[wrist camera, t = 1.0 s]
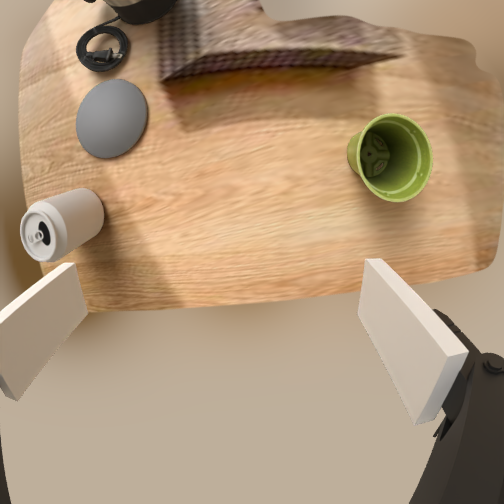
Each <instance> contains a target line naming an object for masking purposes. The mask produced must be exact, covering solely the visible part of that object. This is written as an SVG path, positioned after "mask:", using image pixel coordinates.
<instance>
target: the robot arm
mask: <svg viewBox="0 0 504 504" xmlns="http://www.w3.org/2000/svg"><path fill="white" fill-rule="evenodd" d="M87 314H88V311H87V307H86V304H85V300H84V297H83V293H82V289H81V285H80V281H79V277H78V273H77V269H76V265H75V263H63V264H61V265H60V266H58V267H57V268H56V269H54V270H53V271H51V272H50V273H49V274H47V275H46V276H45V277H43V278H42V279H41V280H40V281H38V282H37V283H35V284H34V285H33V286H31V288H29V289H28V290H26V291H25V292H24V293H22V294H21V295H20V296H19V297H17V298H16V299H15V300H14V301H12V302H11V303H10V304H9V305H8V306H6V307H5V308H4V309H3V310H2V311H0V388H1V389H2V391H3V392H4V394H5V396H7V397H9V398H11V399H13V400H15V401H18V400H19V399H20V398H21V396H22V395H23V393H24V392H25V391H26V389H27V388H28V387H29V385H30V384H31V383H32V381H33V380H34V379H35V377H36V376H37V375H38V374H39V372H40V371H41V370H42V368H43V367H44V366H45V365H46V363H47V362H48V361H49V360H50V358H51V357H52V356H53V354H54V353H55V352H56V351H57V350H58V348H59V347H60V346H61V345H62V343H63V342H64V341H65V340H66V339H67V338H68V336H69V335H70V334H71V333H72V332H73V330H74V329H75V328H76V327H77V326H78V324H79V323H80V322H81V321H82V320H83V319H84V318H85V316H86V315H87ZM357 315H358V317H359V319H360V321H361V323H362V324H363V326H364V328H365V330H366V332H367V333H368V335H369V337H370V339H371V341H372V342H373V345H374V346H375V348H376V350H377V352H378V354H379V356H380V358H381V360H382V362H383V363H384V365H385V368H386V370H387V371H388V373H389V375H390V377H391V379H392V381H393V383H394V385H395V387H396V389H397V391H398V393H399V395H400V398H401V399H402V402H403V404H404V406H405V408H406V410H407V412H408V414H409V416H410V418H411V420H412V423H413V425H414V426H415V425H418V424H422V423H425V422H429V421H432V420H434V419H435V417H436V416H437V414H438V412H439V410H440V409H441V407H442V408H443V410H444V412H445V414H446V416H445V418H444V420H443V421H442V423H441V424H440V426H439V427H438V429H437V430H436V432H435V434H434V435H433V437H436V436H437V434H438V436H437V439H436V442H435V444H434V448H433V450H432V453H431V455H430V458H429V461H428V463H427V465H426V468H425V470H424V472H423V475H422V477H421V479H420V482H419V484H418V486H417V488H416V490H415V492H414V494H413V496H412V498H411V500H410V502H409V504H504V358H502V357H501V356H499V355H496V354H494V353H483V354H481V353H480V351H479V350H478V349H477V348H476V347H475V346H474V345H473V343H472V342H470V340H469V339H468V338H467V337H466V336H465V335H464V333H463V332H461V330H460V329H459V328H458V327H457V326H455V325H454V323H453V322H452V321H451V319H449V317H448V316H447V315H445V314H443V313H441V312H440V311H438V310H436V309H434V310H432V309H431V308H430V307H429V306H428V305H427V304H426V303H425V302H424V301H423V300H422V299H421V298H420V297H419V296H418V295H417V294H416V292H414V290H413V289H412V288H411V287H410V286H409V285H408V284H407V283H406V282H405V281H404V280H403V279H402V278H401V277H400V276H399V275H398V274H397V273H396V272H395V271H394V270H393V269H392V268H391V267H390V266H389V265H388V264H386V263H385V262H384V261H383V260H382V259H381V258H377V259H365V265H364V273H363V280H362V287H361V295H360V301H359V308H358V313H357ZM0 504H11V501H10V496H9V492H8V487H7V482H6V477H5V470H4V464H3V456H2V447H1V437H0Z"/></svg>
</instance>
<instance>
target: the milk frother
mask: <svg viewBox="0 0 504 504" xmlns="http://www.w3.org/2000/svg"><path fill="white" fill-rule="evenodd" d="M84 1H86V2H88V3H93V2H95V1H96V0H84ZM103 1H105V2H106V3H107V4H108V5H109V6H111V7H112V8H113V9H114V10H115V12H116V13H118V16H117V17H115V18H114V19H112V20H109V21H107V22H105V23H103V24H100V25H98V26H96V27H94V28H92V29H90V30H88V31H87V32H86V33H85V34H84V35H83V36H82V37H81V38H80V39H79V41H78V43H77V46H76V54H77V56H78V59H79V60H80V62H81V63H82V64H83V65H84V66H85V67H86V68H88V69H90V70H92V71H96V72H104V71H108V70H111V69H113V68H115V67H116V66H117V65H118V64H119V63H120V62H121V61H122V60H123V58H124V57H125V55H126V52H127V47H128V40H127V38H126V36H125V34H124V32H123V31H121V30H120V29H119V28H116V27H113V26H104V25H106V24H109V23H111V22H114V21H116V20H118V19H120V18H121V20H123V21H124V22H126V23H128V24H134V25H139V24H145V23H149V22H152V21H154V20H156V19H158V18H160V17H162V16H163V15H164V14H166V13H167V12H168V11H169V10H170V9H171V8H172V7H173V5H174V4H175V2H176V0H103ZM103 33H107V34H111V35H113V36H115V37H116V38H117V39H118V41H119V43H120V50H119V52H118V53H113V51H112V48H110V49H109V50H103V51H95V52H87V51H86V50H87V49H86V46H87V44H88V42H89V41H90V40H91V39H92V38H93V37H95V36H97V35H99V34H103ZM96 61H100V62H106V63H98V62H96Z"/></svg>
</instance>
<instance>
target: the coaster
mask: <svg viewBox="0 0 504 504" xmlns="http://www.w3.org/2000/svg"><path fill="white" fill-rule="evenodd" d="M146 121H147V103H146V100H145V97H144V95H143V94H142V92H141V91H140V89H139V88H138V87H136V86H135V85H134V84H132V83H130V82H128V81H125V80H121V79H112V80H108V81H104V82H102V83H100V84H98V85H97V86H95V87H94V88H93V89H92V90H91V91H90V92H89V93H88V94H87V95H86V96H85V98H84V99H83V101H82V103H81V105H80V107H79V110H78V113H77V118H76V131H77V136H78V139H79V141H80V143H81V145H82V146H83V148H84V149H85V150H86V151H87V152H88V153H90V154H91V155H94V156H96V157H99V158H111V157H116V156H119V155H121V154H123V153H125V152H127V151H128V150H129V149H131V148H132V147H133V146H134V145H135V144H136V143H137V141H138V140H139V138H140V137H141V135H142V133H143V131H144V129H145V125H146Z"/></svg>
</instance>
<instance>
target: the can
mask: <svg viewBox="0 0 504 504" xmlns="http://www.w3.org/2000/svg"><path fill="white" fill-rule="evenodd" d="M103 222H104V210H103V206H102V203H101V201H100V199H99V198H98V197H97V195H96V194H95V193H94V192H92V191H91V190H89V189H86V188H78V189H74V190H71V191H68V192H65V193H62V194H59V195H56V196H53V197H50V198H47V199H44V200H41V201H38V202H36V203H34V204H33V205H32V206H30V208H29V209H28V211H27V213H25V215H24V217H23V218H22V221H21V226H20V235H21V239H22V243H23V245H24V247H25V249H26V251H27V252H28V253H29V255H30V256H31V257H32V258H34V259H35V260H37V261H40V262H55V261H57V260H59V259H61V258H62V257H64V256H65V255H67V254H68V253H70V252H71V251H73V250H74V249H76V248H77V247H79V246H80V245H82V244H83V243H85V242H86V241H88V240H89V239H91V238H93V237H94V236H96V235H97V234H98V232H99V231H100V230H101V228H102V225H103Z"/></svg>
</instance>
